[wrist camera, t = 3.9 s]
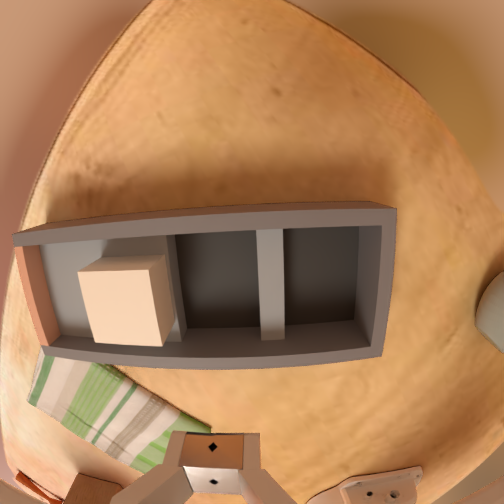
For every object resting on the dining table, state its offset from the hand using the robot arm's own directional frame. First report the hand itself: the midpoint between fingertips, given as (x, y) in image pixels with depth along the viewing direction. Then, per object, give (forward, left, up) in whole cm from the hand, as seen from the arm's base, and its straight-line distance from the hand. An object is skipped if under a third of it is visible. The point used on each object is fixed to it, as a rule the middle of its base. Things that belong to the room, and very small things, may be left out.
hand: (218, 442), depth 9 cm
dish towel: (+19, +19, -19) cm, 33 cm away
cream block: (+9, 0, -15) cm, 18 cm away
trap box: (+4, 0, -18) cm, 19 cm away
